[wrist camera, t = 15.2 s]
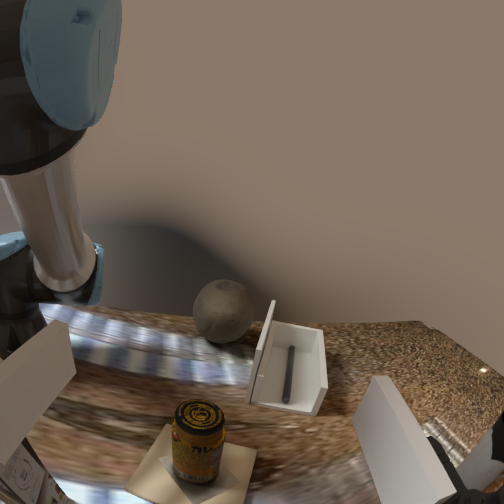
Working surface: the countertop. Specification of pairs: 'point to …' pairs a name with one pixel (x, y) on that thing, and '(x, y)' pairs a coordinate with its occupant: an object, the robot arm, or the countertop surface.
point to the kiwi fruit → (223, 311)
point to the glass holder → (485, 459)
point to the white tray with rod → (288, 368)
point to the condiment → (198, 451)
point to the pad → (168, 492)
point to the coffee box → (28, 479)
